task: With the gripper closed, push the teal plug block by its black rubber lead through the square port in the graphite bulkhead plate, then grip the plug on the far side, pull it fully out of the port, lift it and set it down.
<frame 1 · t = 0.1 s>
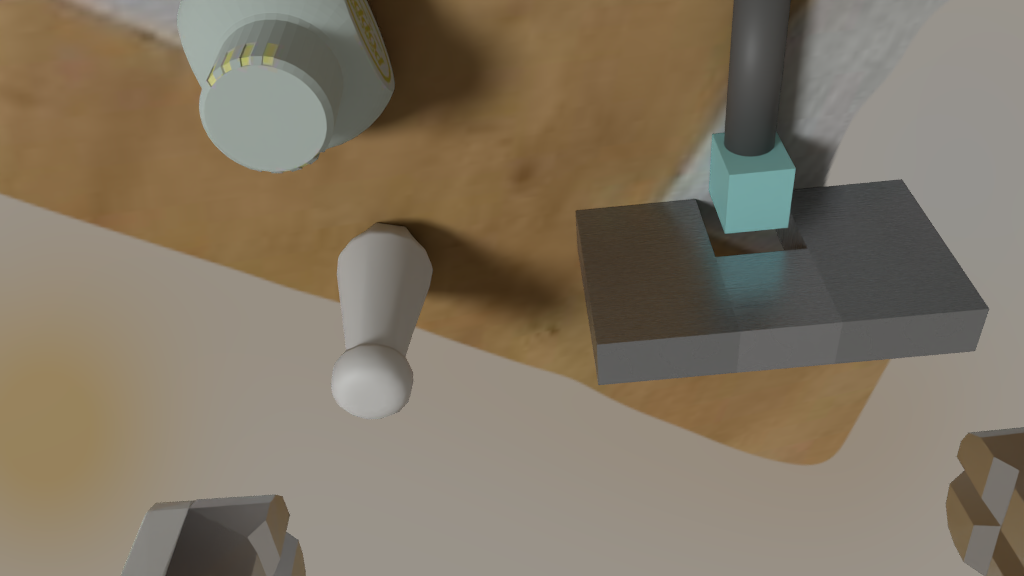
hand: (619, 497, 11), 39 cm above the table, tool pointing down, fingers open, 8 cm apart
salt shaker: (387, 246, 57), on the table
air freshener: (299, 24, 47), on the table
plug: (746, 92, 51), on the table
bulkhead: (736, 215, 56), on the table
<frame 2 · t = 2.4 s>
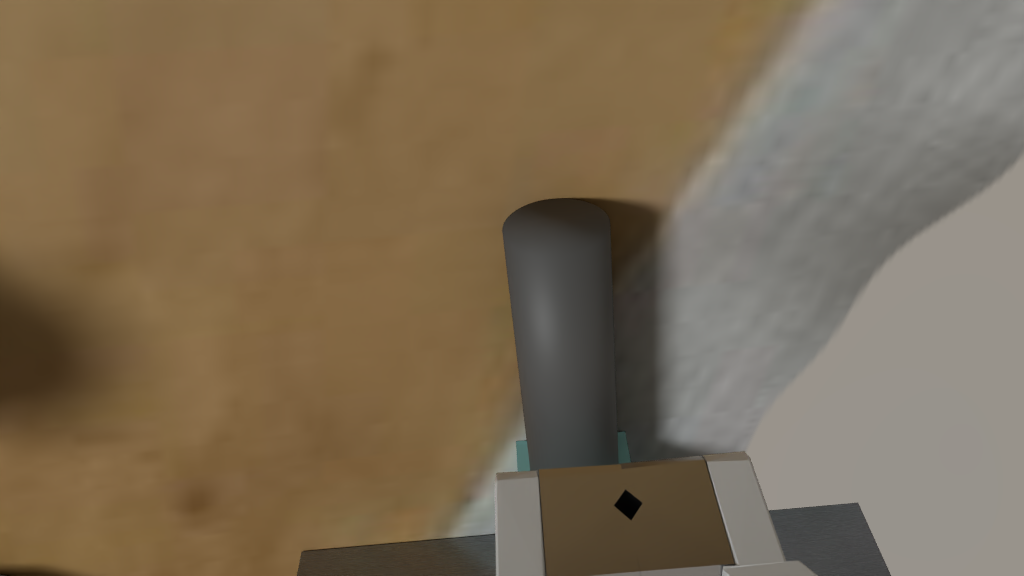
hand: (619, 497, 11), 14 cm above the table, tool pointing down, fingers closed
plug: (566, 379, 28), on the table
bulkhead: (579, 554, 33), on the table
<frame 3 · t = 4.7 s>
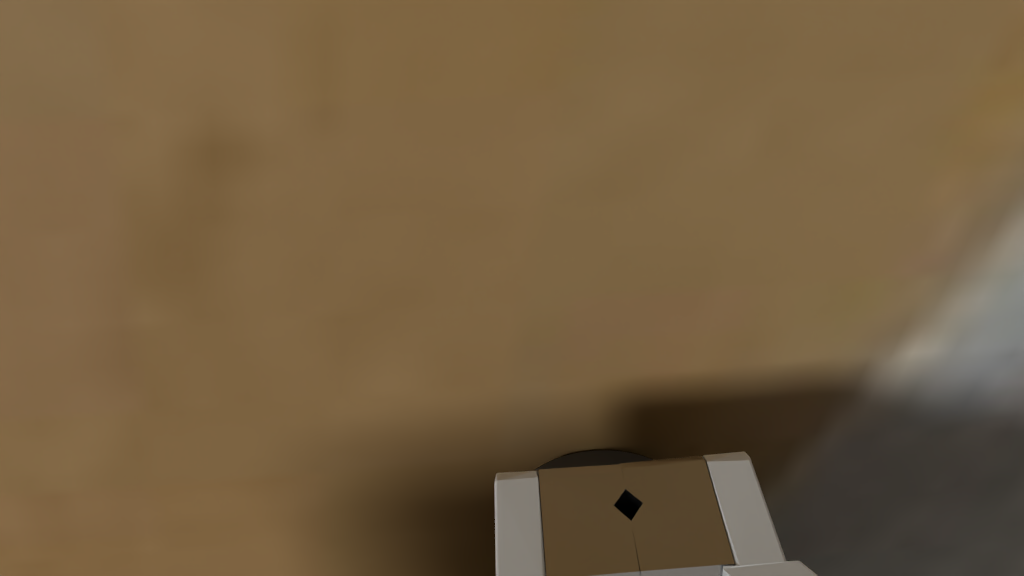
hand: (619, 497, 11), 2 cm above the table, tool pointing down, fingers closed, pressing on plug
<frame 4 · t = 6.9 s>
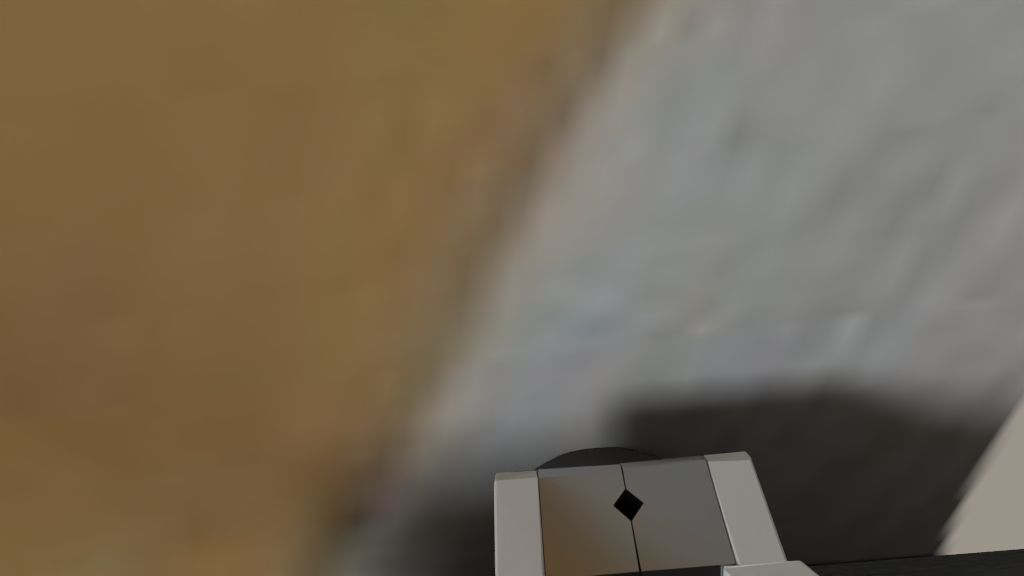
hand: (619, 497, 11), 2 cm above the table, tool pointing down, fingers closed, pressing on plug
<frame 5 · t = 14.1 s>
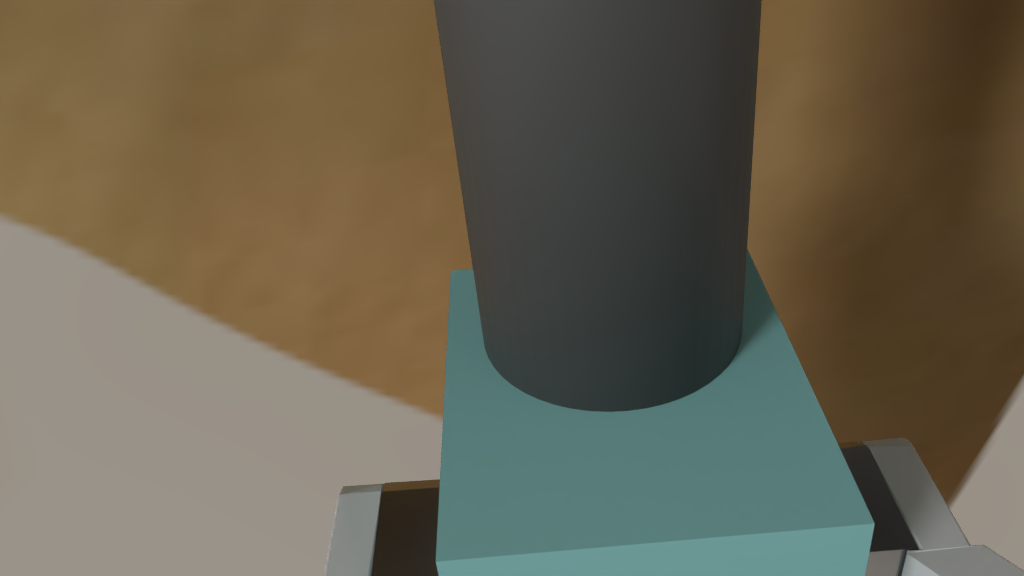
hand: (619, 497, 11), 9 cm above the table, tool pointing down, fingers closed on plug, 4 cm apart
plug: (586, 59, 10), point 7 cm above the table, touching gripper
when the fingers open (2 cm above the table, at t = 16.9 s): plug stays where it is, on the table.
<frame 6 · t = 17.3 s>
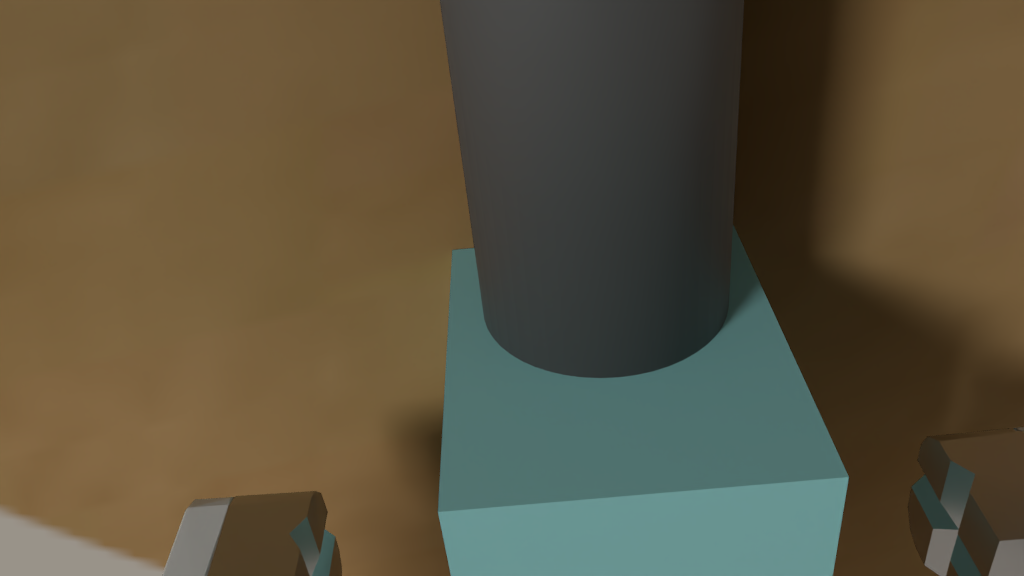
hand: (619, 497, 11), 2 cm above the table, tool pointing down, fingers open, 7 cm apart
plug: (582, 47, 10), on the table
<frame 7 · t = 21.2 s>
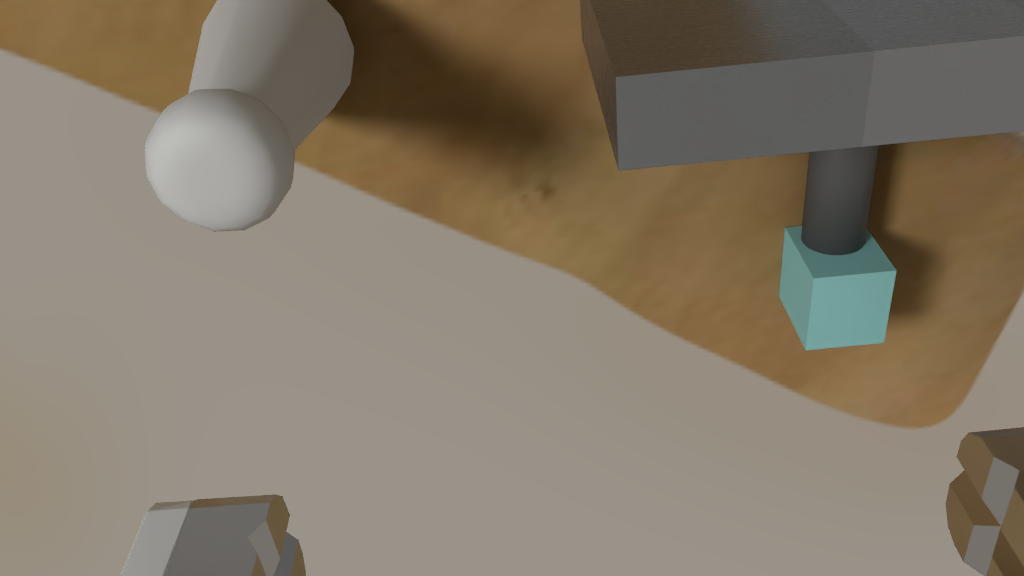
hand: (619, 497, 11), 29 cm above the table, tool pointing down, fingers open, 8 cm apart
salt shaker: (290, 32, 37), on the table
plug: (828, 177, 41), on the table
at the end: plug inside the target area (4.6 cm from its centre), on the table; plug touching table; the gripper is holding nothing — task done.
